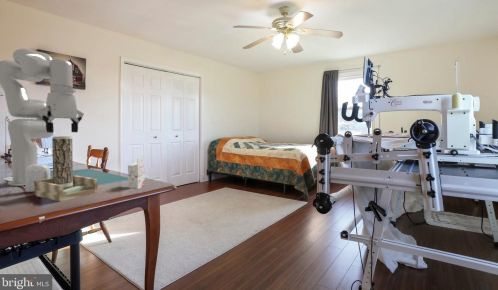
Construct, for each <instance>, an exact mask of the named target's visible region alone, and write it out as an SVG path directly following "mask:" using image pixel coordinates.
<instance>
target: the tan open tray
mask: <svg viewBox="0 0 498 290" xmlns="http://www.w3.org/2000/svg"><path fill="white" fill-rule="evenodd" d="M76 186H85V190H83V191H79V192H74V193H70V194H65V195H63V186H62V185H57V184H53V177H51V178H50V179H44V180H38V181H34V191H33V192H34V196H35V197H38V198H39V197H40V198H42V199H43V198H44V199H48V200H51V201H56V202H64V201H68V200H69V201H70V200H73V199H77V198H81V197H85V196H90V195H93V194H97V193H99V192H98V191H99V190H98V188H99V187H98V179H97V178H93V177H88V176H82V175H81V176H80V175H77V174H76V175H74V174H73V187H76Z"/></svg>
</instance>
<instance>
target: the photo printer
mask: <svg viewBox="0 0 498 290" xmlns="http://www.w3.org/2000/svg"><path fill="white" fill-rule="evenodd" d="M51 170H52V169H51V168H50V167H49V166H48V165H47V166H46V165H44V164H40V163H37V164H34V165H29V166H27V167H26V168H25V186H24V190H25V192H27V193H32V192H34V181H38V180H44V179H50V178H52V171H51Z"/></svg>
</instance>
